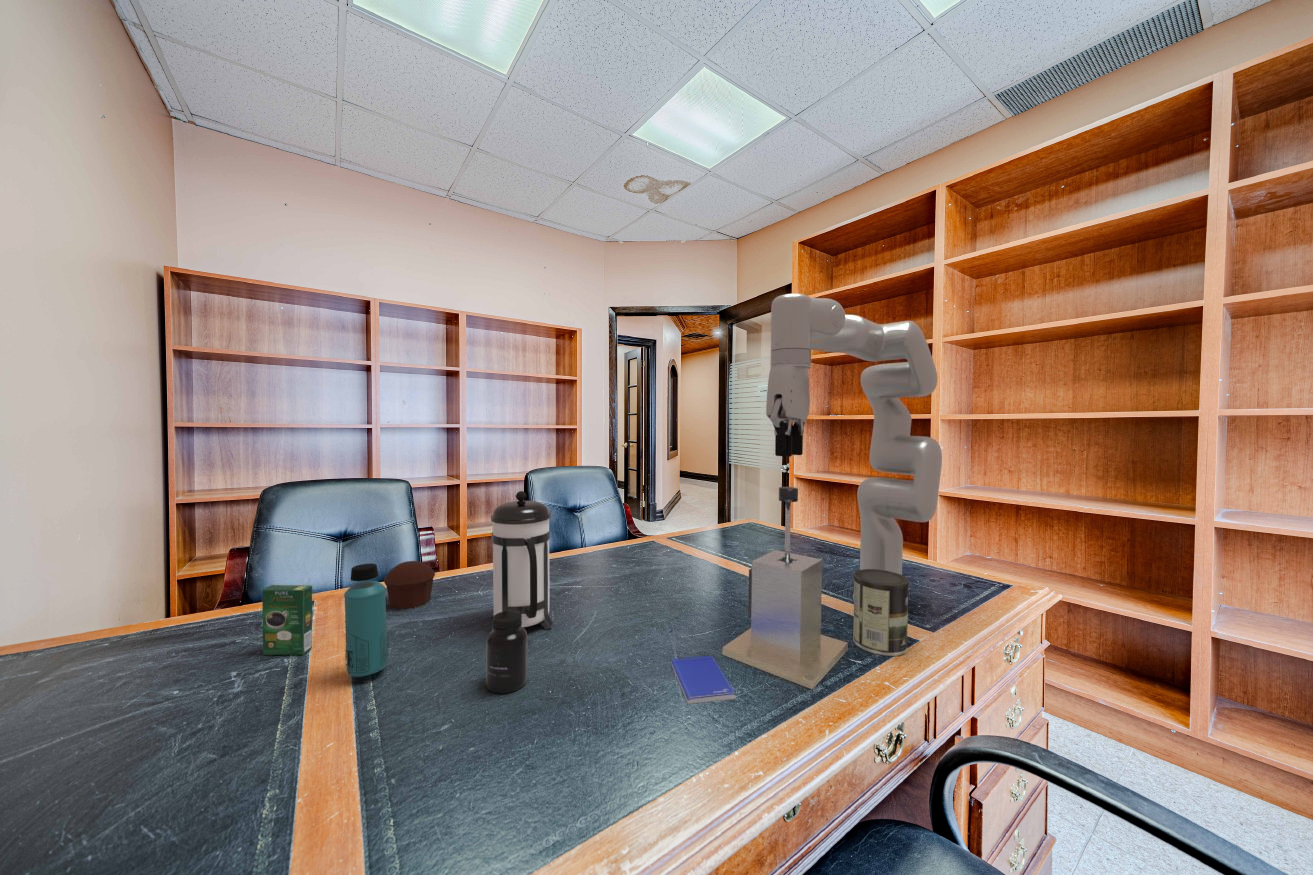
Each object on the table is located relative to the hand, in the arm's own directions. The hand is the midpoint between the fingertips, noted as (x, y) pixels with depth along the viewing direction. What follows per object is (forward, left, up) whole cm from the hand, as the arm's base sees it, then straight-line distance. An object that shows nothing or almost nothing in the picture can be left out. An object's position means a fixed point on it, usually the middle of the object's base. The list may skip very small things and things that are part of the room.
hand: (789, 454), depth 91 cm
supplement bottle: (+42, -32, -40) cm, 66 cm away
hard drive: (+19, -7, -40) cm, 45 cm away
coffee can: (-16, +13, -40) cm, 45 cm away
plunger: (0, 0, -23) cm, 23 cm away
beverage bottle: (+57, -53, -40) cm, 87 cm away
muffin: (+38, -82, -40) cm, 99 cm away
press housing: (0, 0, -39) cm, 39 cm away
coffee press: (+27, -49, -40) cm, 68 cm away
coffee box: (+64, -74, -40) cm, 106 cm away
